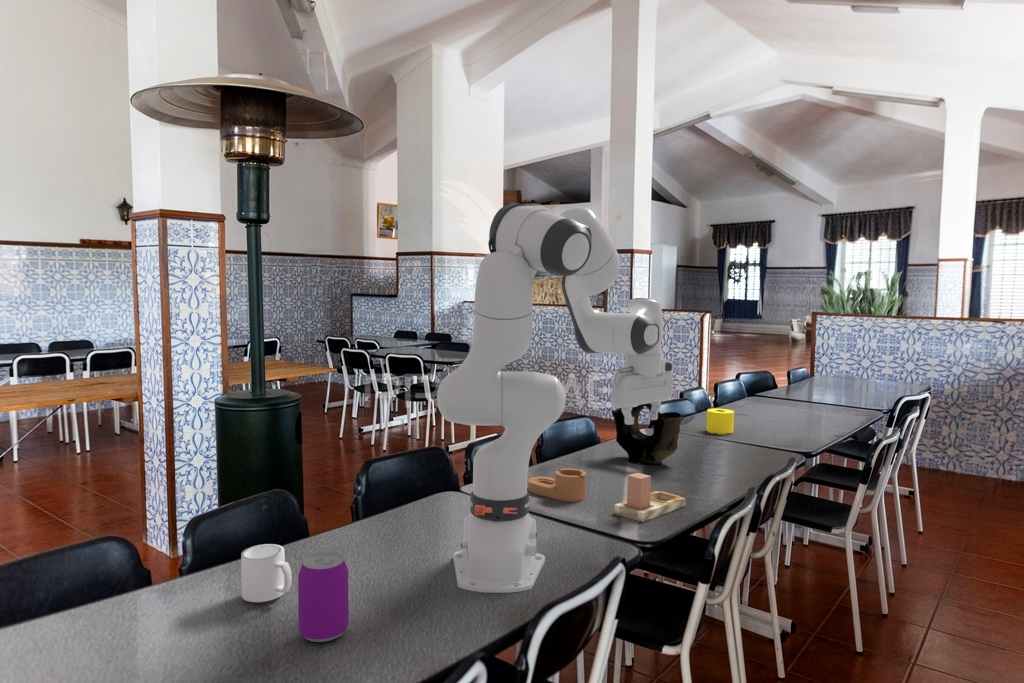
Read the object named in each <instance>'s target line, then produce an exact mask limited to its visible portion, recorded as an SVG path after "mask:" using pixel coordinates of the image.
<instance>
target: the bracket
mask: <svg viewBox="0 0 1024 683" xmlns="http://www.w3.org/2000/svg"><path fill="white" fill-rule="evenodd" d="M587 478H588V477H587V472H586V470H584V469H579V468H560V469H558V470H555V473H554V477H551V476H542V475H541V476H533V477H530V478H528V479H527V491H528V492H530V493H532V494H537V495H540V496H543V497H547V498H551V499H555V500H558V501H562V502H571V503H573V502H581V501H584V500H586V499H587Z"/></svg>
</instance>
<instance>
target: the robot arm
mask: <svg viewBox="0 0 1024 683" xmlns="http://www.w3.org/2000/svg"><path fill="white" fill-rule="evenodd" d="M488 237H489V238H488V244H487V245H488V249H489V254H487V255H485V257H484V258H482V259H481V261H480V264H479V267H478V272H477V278H476V281H475V291H474V304H473V305H474V308H473V309H474V310H473V311H474V312H473V313H474V314H473V315H474V316H473V318H474V319H473V331H472V332H473V334H472V342H471V347H470V349H469V351H468V354H467V356H466V357H465V359H464V360H463V361H462V363H461V364H460V365H459V366H458V367H457V368H456V369H455V370H453V371H452V372H450V373H449V374H447V375H446V376H445V377H444V378H443V379H442V381H441V382H440V384H439V386H438V389H437V393H436V404H437V408H438V410H439V412H440V414H441V416H442V417H443V418H444V419H445V421H447V422H450V423H453V424H454V423H455V424H459V425H460V424H461V425H464V426H465V425H466V426H483V427H484V426H485V427H487V426H489V427H490V426H491V427H492V426H493V427H494V426H497V427H498V426H501V427H504V431H503V433H502V435H501V436H499V437H498V438H496V439H494V440H492V441H490V442H488V443H485V445H482V446H481V447H480V448H479V449H478V450H477V452H475V454H474V456H473V462H472V463H473V464H472V466H473V468H472V475H473V476H472V491H471V492H470V498H469V504H470V505H469V506H470V508H469V509H470V510H469V511H470V512H469V513H468V515H466V516H465V517H464V518H463V541H462V542H460V548H461V550H458V551H455V552H454V553H453V557H452V560H453V566H454V572H455V573H454V574H455V579H456V585H457V587H458V588H460V589H463V590H467V591H469V592H477V593H489V594H490V593H494V594H496V593H497V594H503V593H504V594H505V593H507V594H509V593H519V592H525V591H528V590H531V589H532V588H533V587H534V585H535V583H536V580H537V578H538V576H539V574H540V572H541V570H542V568H543V567H544V564H545V562H546V556H545V555H544V554H542V553H540V552H538V545H537V538H538V531H537V520H536V519H535V518H534V517H533V516H531V514H530V513H529V512H530V504H531V502H530V501H531V499H530V493H529V491H528V479H529V478H528V477H529V475H528V474H529V466H530V458H531V454H532V450H533V448H534V446H535V444H536V442H537V440H539V438H540V437H541V435H542V434H543V433H544V432H545V430H547V428H549V427H550V426H551V425H553V424H554V423H555V422H557V421H558V420H559V419H560V417H561V416H562V415H563V412H564V409H565V406H566V400H567V399H566V398H567V397H566V391H565V389H564V386H563V384H562V382H561V381H560V379H559V378H557V377H556V376H555V375H553V374H547V373H543V372H538V371H519V370H518V371H514V370H513V371H511V370H510V371H507V370H506V371H505V370H502V368H504V367H505V366H506V365H509V364H510V363H513V362H515V361H517V360H519V359H521V358H522V357H523V356H524V355H525V354H526V352H528V350H529V348H530V346H531V343H532V331H533V330H532V329H533V327H532V326H533V325H532V324H533V286H532V284H533V282H534V278H535V276H536V274H537V272H538V271H540V272H545V273H548V274H550V275H551V276H556V277H562V279H561V290H562V294H563V297H564V300H565V304H566V307H567V311H568V312H569V313H568V314H569V315H570V316H569V317H570V318H571V321H572V322H571V323H572V324H573V325H572V326H573V330H574V338H575V342H576V343H577V345H578V346H579V348H580V349H581V350H582V351H583V352H584V353H587V354H613V355H624V367H620V368H618V370H617V371H616V372H615V374H614V377H613V380H612V384H611V393H610V403H611V405H612V406H613V407H615V408H616V407H617V408H619V409H620V408H621V410H622V413H623V415H624V417H625V424H627V425H631V424H634V417H632V415H631V411H632V407H635V406H636V407H637V406H638V405H642V404H648V403H651V405H652V408H651V411H650V410H649V412H648V420H651V421H652V420H656V419H657V418H658V412H659V411H660V409H661V407H662V402H664V401H670V399H671V398H672V396H673V388H674V387H673V386H674V382H673V379H674V376H673V373H672V372H674V369H675V368H674V367H675V366H674V365H675V363H673V362H671V361H669V360H667V359H665V358H664V357H663V350H662V344H661V342H662V339H663V334H664V333H663V332H664V324H663V322H664V321H663V320H664V319H663V309H662V305H661V302H659V301H658V300H656V299H653V298H647V297H635V298H632V299H630V300H629V301H628V306H627V311H625V312H608V311H607V312H604V311H600V310H596V309H594V308H593V305H592V303H591V299H590V297H592V296H596V295H599V294H601V293H603V292H605V291H606V290H607V289H609V288H610V287H611V286H612V285H613V284H614V283H615V281H616V280H617V278H618V277H619V273H620V270H621V259H620V255H619V253H618V250H617V248H616V246H615V244H614V242H613V240H612V237H611V235H610V234H609V232H608V230H607V229H606V227H605V226H604V224H603V223H602V222H601V220H600V219H599V217H597V215H596V214H595V213H594V212H593V211H592V210H591V209H589V208H587V207H584V206H575V207H570V208H568V209H565V210H564V211H562V212H561V213H560V214H557V213H554V212H552V211H550V210H549V209H544V208H541V207H535V206H529V205H527V204H524V203H511V204H506V205H503V206H502V207H501V208H500V209H498V211H497V212H496V213H495V215H494V216H493V219H492V221H491V224H490V226H489V233H488Z"/></svg>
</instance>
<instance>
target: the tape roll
mask: <svg viewBox="0 0 1024 683" xmlns="http://www.w3.org/2000/svg"><path fill="white" fill-rule="evenodd" d="M734 420H735V411H734V410H732V409H726V408H708V409H707V410H706V432H707V431H708V432H707V433H709V432H710V433H709V434H714V433H717V434H716V435H726V434H725V433H732V432H733V433H734V423H735V422H734ZM733 433H732V434H733Z"/></svg>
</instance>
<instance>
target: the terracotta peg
mask: <svg viewBox="0 0 1024 683" xmlns="http://www.w3.org/2000/svg"><path fill="white" fill-rule="evenodd" d="M651 486H652V476H651V475H648V474H645V473H641V472H635V473H631V474H628V475H627V486H626V487H627V490H626V493H627V494H626V495H627V496H626V501H627V507H630V508H634V509H637V510H640V511H642V510H644V509H647V508H650V494H651V492H652V491H651V490H652V487H651Z"/></svg>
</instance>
